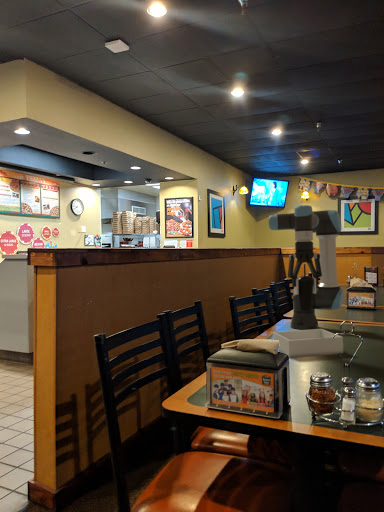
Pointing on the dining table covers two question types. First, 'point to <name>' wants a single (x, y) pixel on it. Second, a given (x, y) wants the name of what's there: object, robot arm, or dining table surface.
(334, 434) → the dining table surface
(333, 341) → the box
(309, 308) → the drinking cup
